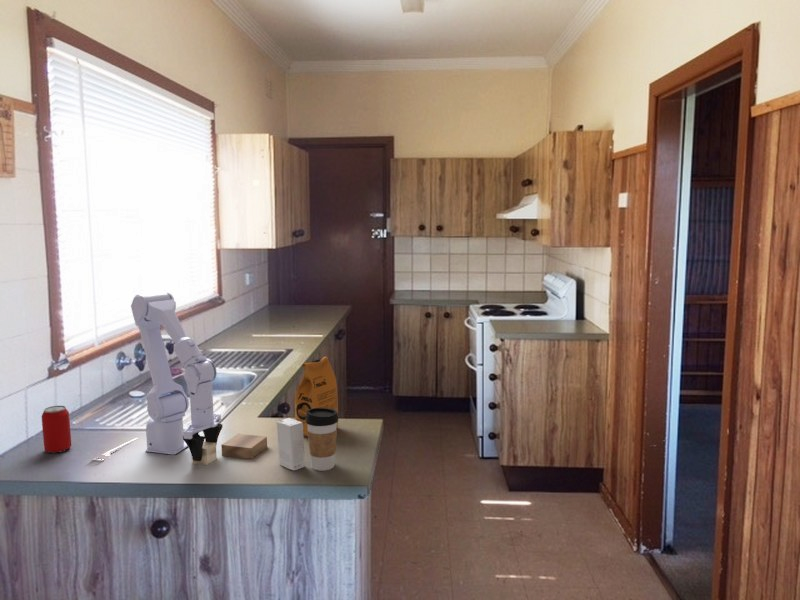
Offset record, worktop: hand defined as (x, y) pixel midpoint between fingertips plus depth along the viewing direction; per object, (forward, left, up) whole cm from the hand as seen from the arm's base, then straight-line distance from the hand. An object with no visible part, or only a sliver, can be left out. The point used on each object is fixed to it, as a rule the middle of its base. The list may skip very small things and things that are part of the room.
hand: (204, 455), depth 172 cm
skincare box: (+24, +3, -2) cm, 24 cm away
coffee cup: (+32, +5, -2) cm, 32 cm away
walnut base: (+7, +9, -1) cm, 11 cm away
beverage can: (-44, -4, -2) cm, 44 cm away
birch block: (0, 0, -2) cm, 2 cm away
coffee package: (+20, +29, -2) cm, 35 cm away
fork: (-28, 0, -2) cm, 28 cm away
